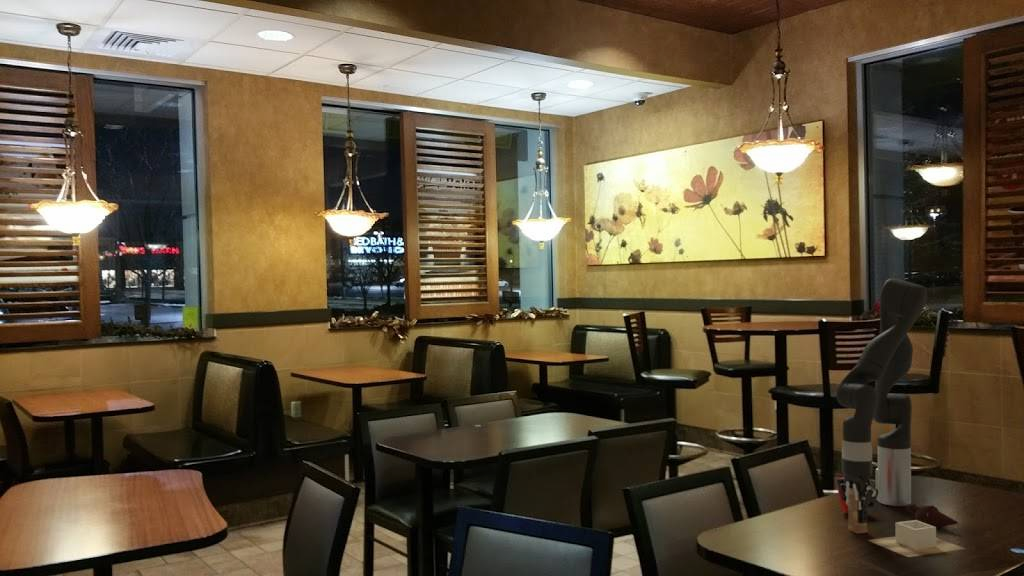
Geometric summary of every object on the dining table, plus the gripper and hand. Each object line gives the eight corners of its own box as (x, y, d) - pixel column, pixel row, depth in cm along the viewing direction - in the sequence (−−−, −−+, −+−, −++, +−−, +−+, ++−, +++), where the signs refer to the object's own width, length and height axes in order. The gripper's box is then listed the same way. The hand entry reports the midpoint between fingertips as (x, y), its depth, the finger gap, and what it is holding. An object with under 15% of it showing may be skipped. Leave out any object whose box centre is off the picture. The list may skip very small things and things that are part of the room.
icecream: (966, 510, 226) (914, 502, 239) (949, 507, 222) (898, 500, 235) (964, 537, 224) (913, 528, 237) (948, 534, 221) (896, 525, 234)
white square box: (895, 541, 217) (895, 522, 217) (916, 539, 219) (916, 520, 219) (915, 549, 211) (914, 529, 211) (936, 546, 213) (936, 527, 213)
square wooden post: (848, 532, 228) (848, 487, 227) (858, 530, 229) (858, 486, 228) (856, 535, 224) (856, 490, 224) (866, 534, 225) (866, 489, 225)
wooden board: (867, 543, 219) (867, 540, 219) (922, 536, 224) (922, 532, 224) (907, 561, 205) (907, 557, 205) (965, 552, 211) (965, 548, 211)
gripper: (887, 461, 221) (887, 527, 221) (850, 450, 234) (850, 512, 234) (863, 463, 218) (864, 530, 219) (827, 452, 232) (828, 515, 232)
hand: (857, 520), depth 226 cm, fingers closed on square wooden post, 3 cm apart
